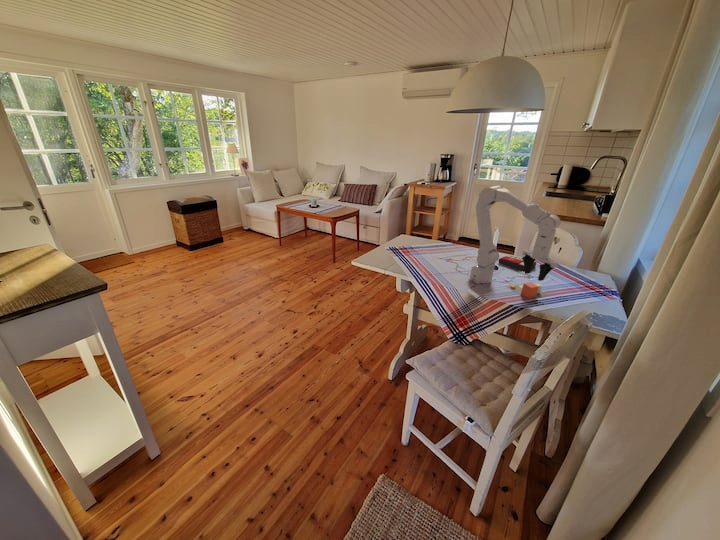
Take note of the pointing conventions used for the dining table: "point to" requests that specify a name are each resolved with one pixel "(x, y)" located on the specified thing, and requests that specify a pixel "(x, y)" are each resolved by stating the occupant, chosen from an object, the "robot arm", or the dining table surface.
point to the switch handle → (539, 287)
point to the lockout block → (529, 290)
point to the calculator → (514, 262)
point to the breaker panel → (519, 288)
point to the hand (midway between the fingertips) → (533, 276)
